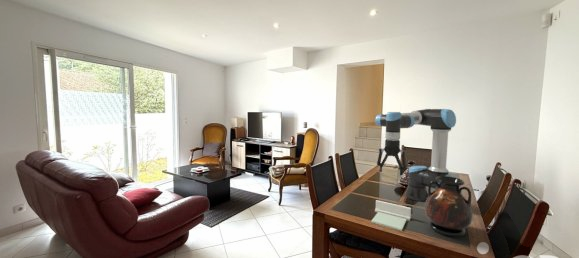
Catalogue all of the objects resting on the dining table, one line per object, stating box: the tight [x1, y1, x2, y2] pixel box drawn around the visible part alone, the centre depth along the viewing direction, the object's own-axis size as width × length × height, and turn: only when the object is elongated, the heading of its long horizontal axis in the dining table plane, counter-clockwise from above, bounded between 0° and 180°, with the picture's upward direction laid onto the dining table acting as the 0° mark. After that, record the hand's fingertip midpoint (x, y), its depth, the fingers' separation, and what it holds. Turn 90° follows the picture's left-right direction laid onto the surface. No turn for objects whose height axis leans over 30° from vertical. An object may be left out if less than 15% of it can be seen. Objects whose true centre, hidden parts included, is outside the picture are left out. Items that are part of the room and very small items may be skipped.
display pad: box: [371, 212, 407, 232], centre depth 135 cm, size 14×16×1 cm
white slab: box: [374, 199, 412, 221], centre depth 143 cm, size 3×20×6 cm, turn 54°
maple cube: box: [381, 164, 400, 185], centre depth 132 cm, size 8×8×8 cm
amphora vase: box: [423, 176, 474, 238], centre depth 125 cm, size 22×22×28 cm
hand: (390, 179), depth 133 cm, fingers closed on maple cube, 8 cm apart
